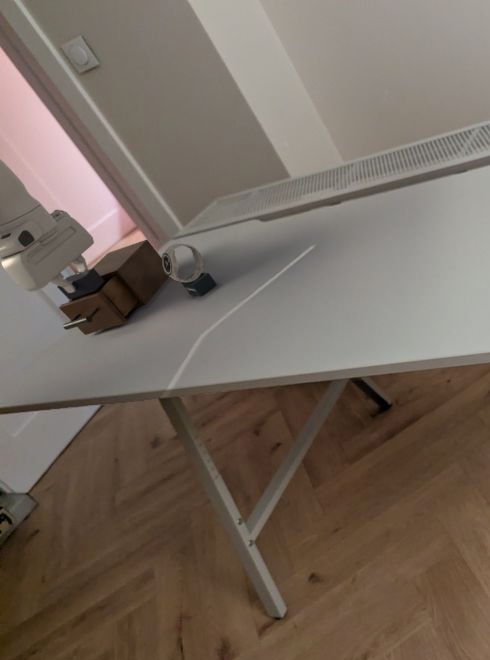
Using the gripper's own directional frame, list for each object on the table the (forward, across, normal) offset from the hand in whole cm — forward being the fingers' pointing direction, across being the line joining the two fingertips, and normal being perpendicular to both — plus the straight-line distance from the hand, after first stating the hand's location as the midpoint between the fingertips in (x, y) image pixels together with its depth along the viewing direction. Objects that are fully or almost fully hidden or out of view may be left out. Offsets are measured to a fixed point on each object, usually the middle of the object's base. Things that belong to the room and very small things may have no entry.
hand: (81, 284), depth 116 cm
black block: (+2, 0, 0) cm, 2 cm away
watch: (+11, -3, +22) cm, 25 cm away
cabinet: (+11, -12, 0) cm, 16 cm away
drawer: (+10, 0, 0) cm, 10 cm away
